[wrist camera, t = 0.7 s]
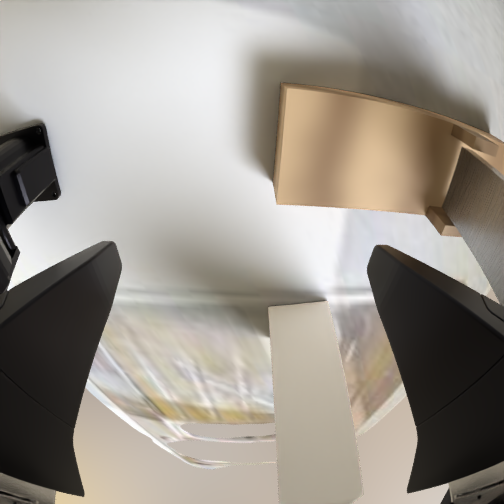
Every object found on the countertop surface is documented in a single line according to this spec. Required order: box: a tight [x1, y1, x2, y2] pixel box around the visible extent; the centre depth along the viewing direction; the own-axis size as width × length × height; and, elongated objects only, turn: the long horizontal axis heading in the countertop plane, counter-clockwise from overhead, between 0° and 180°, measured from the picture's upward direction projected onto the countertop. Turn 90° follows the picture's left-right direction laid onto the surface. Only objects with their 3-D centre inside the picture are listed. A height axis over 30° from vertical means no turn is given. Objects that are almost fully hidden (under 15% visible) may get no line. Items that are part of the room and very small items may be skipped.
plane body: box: [273, 83, 504, 237], centre depth 16 cm, size 18×7×5 cm, turn 88°
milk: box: [268, 301, 364, 504], centre depth 21 cm, size 6×6×22 cm
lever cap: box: [442, 147, 504, 307], centre depth 11 cm, size 2×5×10 cm, turn 178°
